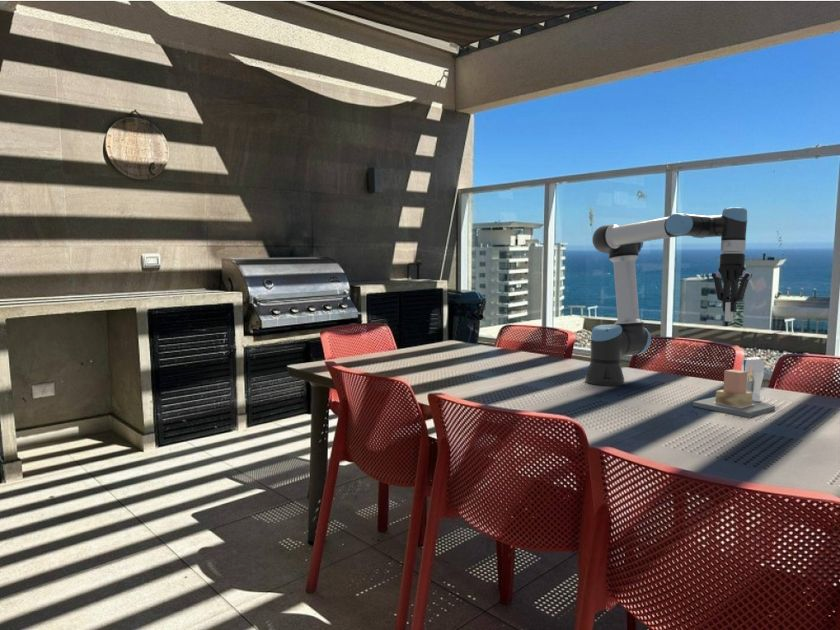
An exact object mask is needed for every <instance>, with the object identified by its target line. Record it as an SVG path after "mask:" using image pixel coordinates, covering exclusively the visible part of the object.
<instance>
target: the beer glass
mask: <svg viewBox="0 0 840 630" xmlns="http://www.w3.org/2000/svg"><path fill="white" fill-rule="evenodd" d="M740 369H741V370H740V371H747V388H746V392H752V402H756V403H761V401H762V399H761V388H762V384H763V379H764V375H765V359H764V358H762V357H753V356H752V357H751V356H743V357H742V362H741V368H740Z"/></svg>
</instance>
